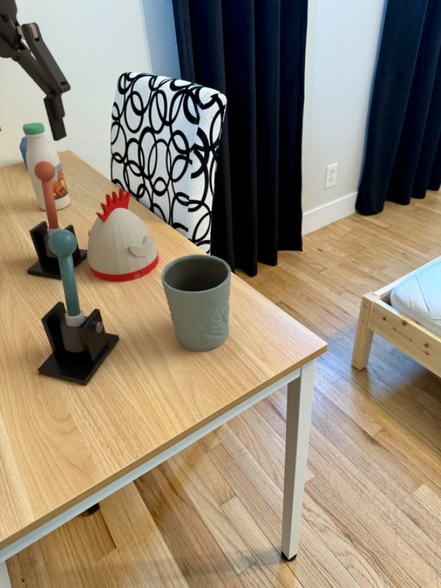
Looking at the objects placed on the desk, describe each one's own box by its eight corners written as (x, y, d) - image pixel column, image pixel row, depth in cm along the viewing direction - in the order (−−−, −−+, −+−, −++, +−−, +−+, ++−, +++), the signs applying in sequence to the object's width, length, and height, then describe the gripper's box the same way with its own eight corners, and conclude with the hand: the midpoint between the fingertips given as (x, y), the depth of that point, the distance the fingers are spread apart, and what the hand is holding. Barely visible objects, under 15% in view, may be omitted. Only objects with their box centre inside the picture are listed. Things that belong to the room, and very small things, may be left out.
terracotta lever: (41, 158, 81) (24, 162, 77) (61, 160, 80) (45, 164, 76) (55, 248, 89) (41, 255, 85) (74, 251, 88) (60, 259, 84)
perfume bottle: (25, 167, 133) (13, 127, 126) (38, 160, 138) (27, 121, 131) (42, 168, 132) (30, 128, 124) (54, 161, 136) (44, 122, 129)
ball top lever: (57, 223, 59) (35, 233, 55) (84, 227, 58) (64, 237, 54) (75, 333, 67) (57, 349, 64) (99, 338, 66) (83, 354, 63)
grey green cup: (243, 340, 68) (244, 278, 61) (186, 364, 64) (179, 301, 57) (213, 306, 75) (209, 247, 68) (159, 326, 71) (150, 265, 64)
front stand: (76, 330, 71) (64, 291, 66) (120, 339, 69) (111, 300, 64) (38, 374, 63) (21, 333, 59) (86, 386, 61) (73, 345, 56)
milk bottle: (45, 214, 106) (20, 131, 94) (35, 204, 111) (10, 124, 99) (75, 205, 110) (54, 125, 98) (64, 196, 115) (44, 118, 103)
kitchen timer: (172, 256, 89) (164, 187, 80) (125, 289, 80) (110, 216, 71) (123, 238, 95) (111, 173, 86) (75, 268, 86) (55, 198, 77)
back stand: (57, 249, 93) (47, 215, 88) (90, 254, 90) (82, 219, 86) (27, 274, 85) (14, 238, 80) (62, 280, 83) (51, 244, 78)
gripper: (73, -20, 61) (101, 134, 73) (-65, -16, 67) (-17, 124, 80) (39, -19, 55) (77, 148, 68) (-108, -15, 61) (-48, 136, 74)
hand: (26, 135), depth 74 cm, fingers open, 13 cm apart
